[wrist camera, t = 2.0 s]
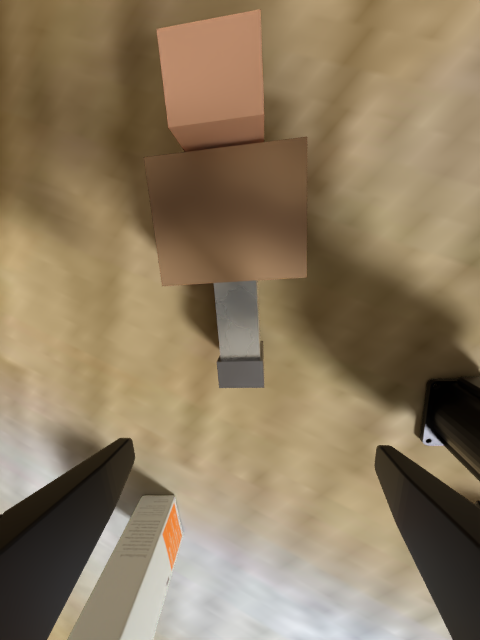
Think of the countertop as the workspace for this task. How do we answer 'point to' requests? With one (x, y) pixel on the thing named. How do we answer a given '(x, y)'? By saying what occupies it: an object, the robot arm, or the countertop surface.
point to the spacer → (214, 81)
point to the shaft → (239, 335)
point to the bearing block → (230, 212)
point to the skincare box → (135, 576)
